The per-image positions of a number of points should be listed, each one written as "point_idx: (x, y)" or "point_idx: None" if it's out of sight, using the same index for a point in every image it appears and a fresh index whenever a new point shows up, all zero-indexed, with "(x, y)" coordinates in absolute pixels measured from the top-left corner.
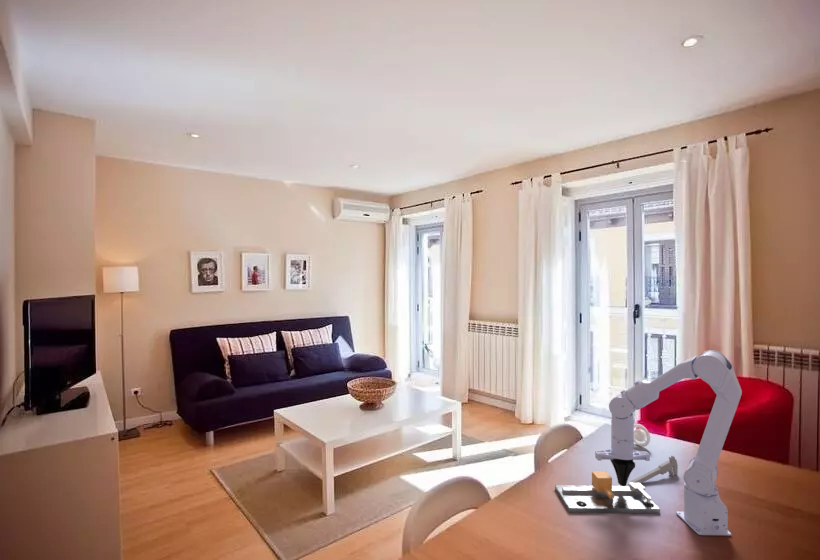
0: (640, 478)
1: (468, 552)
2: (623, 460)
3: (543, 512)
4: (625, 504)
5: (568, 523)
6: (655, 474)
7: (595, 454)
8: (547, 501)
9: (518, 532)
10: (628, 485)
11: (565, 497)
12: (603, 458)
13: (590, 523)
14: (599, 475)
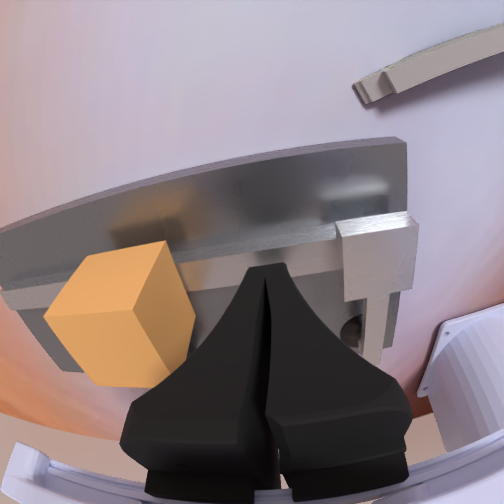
0: (461, 61)
1: (10, 415)
2: (289, 481)
3: (21, 356)
4: None
5: (82, 392)
6: None
7: (12, 470)
8: (3, 312)
9: (25, 399)
10: (359, 90)
11: (31, 323)
12: (81, 482)
13: (129, 395)
14: (98, 363)
